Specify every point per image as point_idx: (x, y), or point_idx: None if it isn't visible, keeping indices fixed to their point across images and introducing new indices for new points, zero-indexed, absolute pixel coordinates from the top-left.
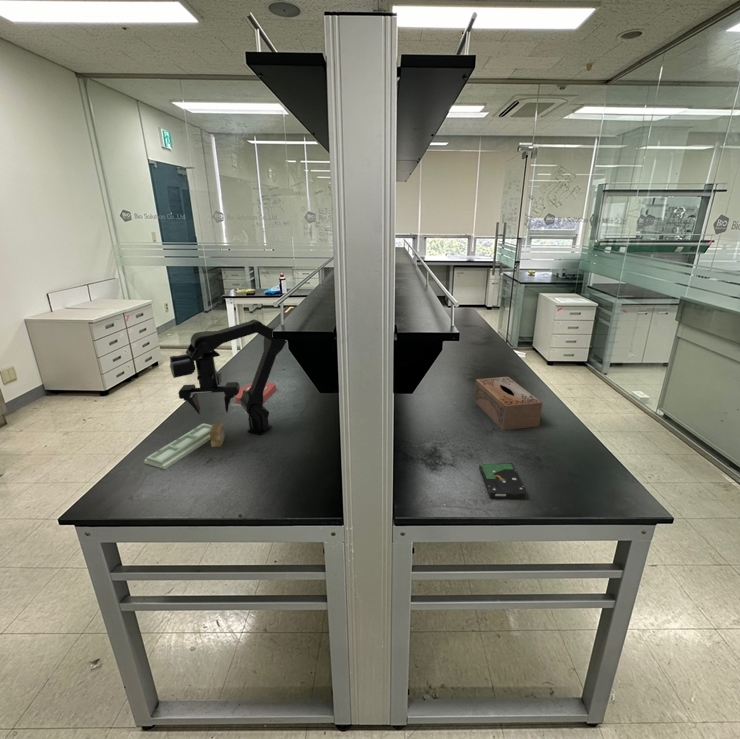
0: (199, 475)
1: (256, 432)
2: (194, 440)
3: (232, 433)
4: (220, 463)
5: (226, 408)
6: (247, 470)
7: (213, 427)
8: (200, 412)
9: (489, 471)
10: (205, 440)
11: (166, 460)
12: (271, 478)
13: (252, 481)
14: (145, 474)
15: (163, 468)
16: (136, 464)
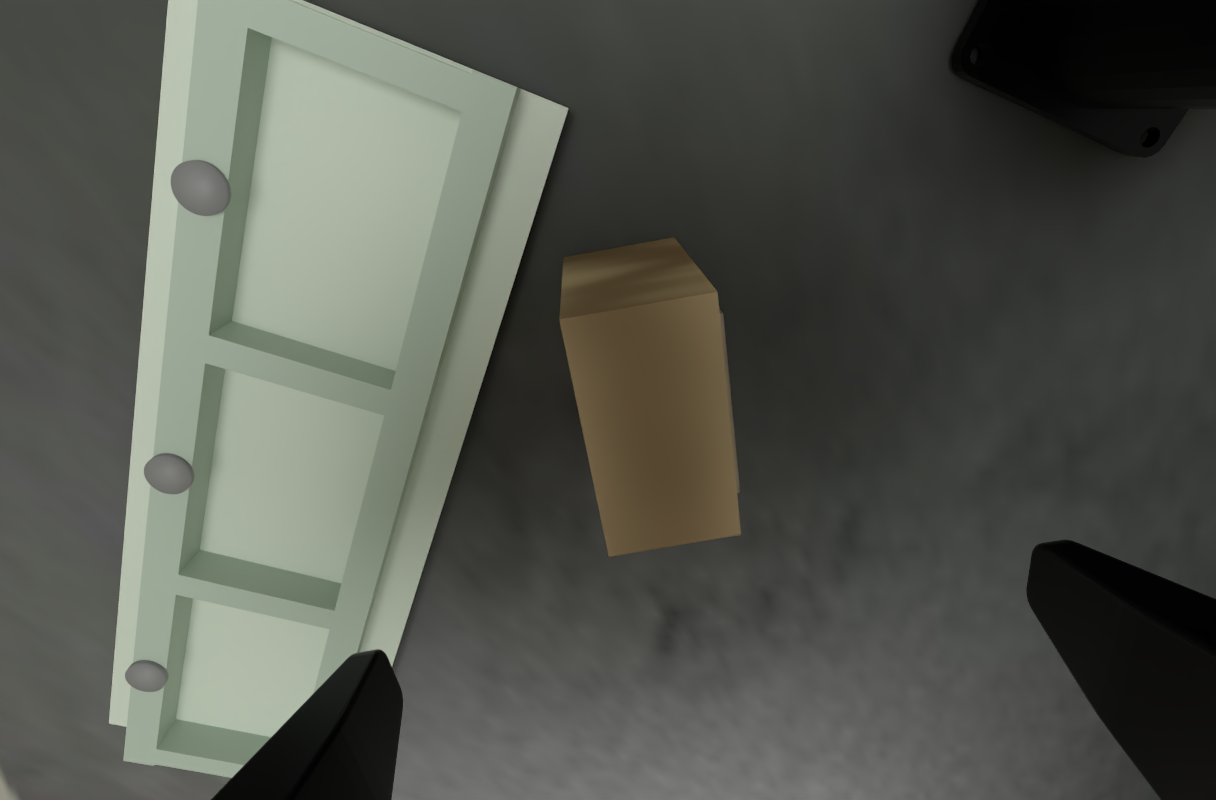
0: (669, 770)
1: (1088, 126)
2: (398, 480)
3: (740, 119)
4: (777, 653)
5: (1158, 754)
6: (1002, 705)
7: (618, 439)
8: (382, 675)
9: None
10: (485, 370)
11: None
12: None
13: (1042, 787)
14: None
15: None
16: (70, 710)
